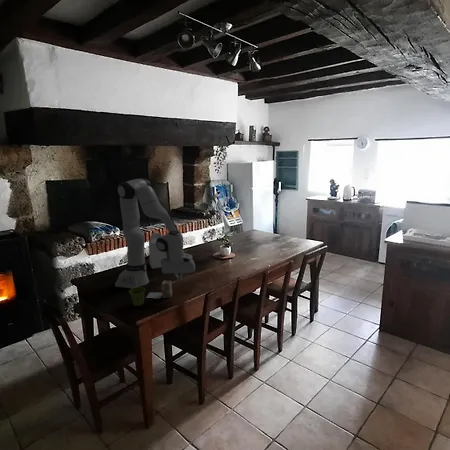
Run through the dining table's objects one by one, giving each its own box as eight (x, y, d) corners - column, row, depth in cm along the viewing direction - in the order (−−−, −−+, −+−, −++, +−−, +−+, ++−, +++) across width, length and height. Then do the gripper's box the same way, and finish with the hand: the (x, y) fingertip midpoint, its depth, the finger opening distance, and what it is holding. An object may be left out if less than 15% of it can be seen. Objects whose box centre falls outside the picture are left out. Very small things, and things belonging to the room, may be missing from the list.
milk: (152, 268, 249) (149, 235, 243) (149, 264, 260) (146, 232, 254) (167, 266, 254) (165, 233, 248) (164, 261, 264) (162, 230, 258)
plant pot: (136, 309, 187) (134, 295, 185) (127, 304, 193) (125, 290, 191) (149, 303, 194) (148, 289, 192) (140, 298, 200) (139, 285, 198)
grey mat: (145, 298, 200) (145, 298, 200) (149, 292, 208) (149, 292, 208) (160, 298, 199) (160, 298, 199) (163, 292, 207) (163, 292, 207)
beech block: (162, 297, 201) (161, 284, 199) (164, 294, 206) (163, 280, 203) (170, 297, 200) (169, 284, 198) (172, 294, 205) (171, 280, 203)
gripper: (158, 260, 194) (161, 281, 197) (192, 259, 192) (195, 280, 196) (161, 256, 200) (164, 277, 203) (194, 255, 198) (196, 276, 202)
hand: (179, 279), depth 199 cm, fingers closed
